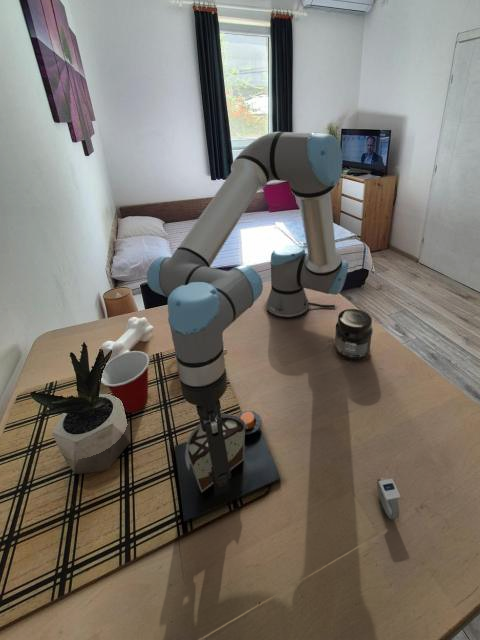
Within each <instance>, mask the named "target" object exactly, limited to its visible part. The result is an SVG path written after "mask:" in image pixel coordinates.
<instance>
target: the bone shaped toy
mask: <svg viewBox="0 0 480 640" xmlns="http://www.w3.org/2000/svg"><path fill="white" fill-rule="evenodd" d="M153 331H154V326H153V325H151V324H150V322H149V321H148V319H147V318H146V317H145V316H144V317H136V316H133V317H130V318H129V319H128V321H127V326H126V328H125V331H124V333H123V334H122V335H121V336H120V337H119V338H118V339H117V340H115V341H114V340H106V341H104V342H103V343H102V344H101V347H100V349H101V351H102V350H103V351H104V355H105V356H106V355H107V354H108V353H109V352H110V351H111V350H112V354H111V357H110V359H109V361H110V360H111V359H113V358H114V357H116V356H118V355H121V354H123V353H126V352H131V350H132V349H134V347H135V346H136V345H137V344H138V343H139V342H148V341H149V340H150V339H151V337H152V335H151V334H152V333H153Z"/></svg>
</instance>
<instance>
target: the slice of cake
mask: <svg viewBox="0 0 480 640" xmlns="http://www.w3.org/2000/svg"><path fill="white" fill-rule="evenodd" d="M237 416H238V415H234V414H231V413H229V414H228V413H221V417H222V422H223V424H222V427H223V434H224V440H225V445H226V451H227V456H228V462H229V468H230V470H232V469H233V468H234V467H235V466H237V465H238V464H239V463H241V462H242V461H243V460H244V443H245V427H246V428H247V429H248V427H247V424H246V423H245V422H244V421H243V420H242V419H241V418H239V417H237ZM216 419H218V416H216ZM207 422H210V421H205V420H204V425H205V423H207ZM186 442H187V445H186V454H185V460H186V465H187V467H188V470H189V469H190V464H191V467H192V469H193V472H194V475H195V478H196V480H197V483H198V486H199V489H200V491H201V493H202V492H203V491H204V490H205V489H207V488H208V487H209V486H211V485H212V484H213V477H210V478H209V474H208V472H211V471H212V470H211V467H212V463H211V458H210V453H209V447H208V442H207V437H206V432H203V430H202V427H201V423H200V422H199V424H197V425H196V426H195V428H193V430H192V431H191V432H190V435H189V437H188V439H187V441H186Z"/></svg>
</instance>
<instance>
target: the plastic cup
mask: <svg viewBox="0 0 480 640" xmlns="http://www.w3.org/2000/svg"><path fill="white" fill-rule="evenodd" d="M105 364H106V366H105V368H104V370H103V373H102V378H101V382H100V383H101V384H103V385H104V386H106V387H107V388H108V390H109V391H110V392H111V393H110V394H112V396H113V397H114V396H115V397H117V398H119V399H120V400H121V401H122V403H123V406H124V408H125V411H126V412H125V411H124V412H125V413H129V414H132V413H136V412H138V411H140V410H142V409H143V408H145V406H146V405H147V403H148V400H149V364H150V358H149V355H148V353H146V352H144V351H139V350H132V351H131V350H130V352H126V353H123V354H121V355H118V356H116V357H114V358H113V359H111V360H110V361H108V362H107V363H105ZM115 397H114V398H115Z"/></svg>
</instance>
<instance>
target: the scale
mask: <svg viewBox="0 0 480 640" xmlns="http://www.w3.org/2000/svg"><path fill="white" fill-rule="evenodd" d="M245 412H251V413H253V414H254V421H255V423H254V426H253V427H252V428H250V429H245V443H244V460H243V461H242V462H241V463H239V464H238V465H237V466H235V467H234V468H233V469H232V470H230V471H231V478H230V487H231V489H230V490H227V491H225V492H223V493H220V494H218V495H216V496H215V491H214V484H212V485H211V486H209V487H208V488H207V489H205V490H204V491H203V492H202V493H201V491H200V489H199V486H198V483H197V480H196V478H195V475H194V472H193V469H192V467H191V464H190V469H189V470H188V467H187V465H186V460H185V454H186V445H187V442H188V441H186V442H181V443H179V444H177V445H174V453H175V461H176V470H177V478H178V485H179V486H178V487H179V493H180V501H181V502H180V503H181V509H182V511H181V512H182V518H183V524H184V525H185V526H186V525H188V524H190V523H192V522H194V521H196V520H199V519H201V518H203V517H206V516H207V515H210V514H213V513H214V512H216V511H219V510H221V509H224V508H225V507H228V506H230V505H232V504H234V503H237V502H239V501H241V500H244V499H246V498H248V497H250V496H253V495H255V494H257V493H259V492H262V491H264V490H266V489H268V488H270V487H272V486H275V485H277V484H279V483H281V482H282V481H281V475H280V473H279V471H278V468H277V466H276V463H275V461H274V458H273V456H272V454H271V451H270V449H269V446H268V443H267V441H266V438H265V436H264V433H263V431H262V427H263V425H262V418H261V415H260V414H259V413H257V412H256V411H254V410H245V411H242V412H240V413H239V414H238V415H236V416H237V417H239V418H241V415H242V414H243V413H245Z"/></svg>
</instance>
